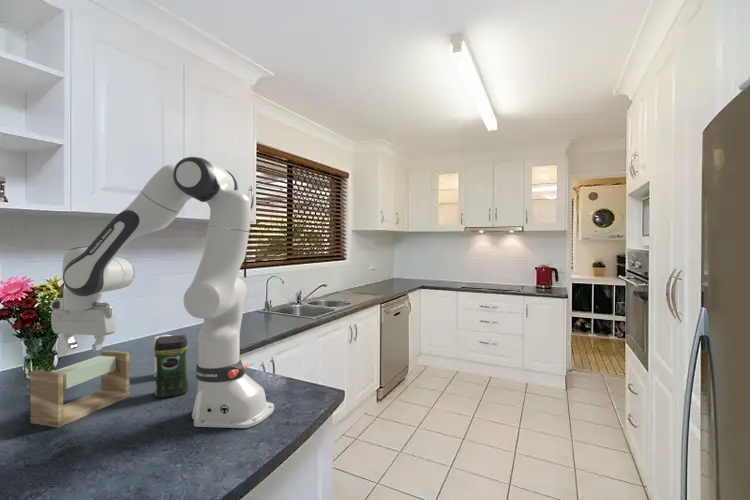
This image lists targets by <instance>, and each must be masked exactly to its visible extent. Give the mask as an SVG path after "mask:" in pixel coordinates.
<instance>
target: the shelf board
mask: <svg viewBox="0 0 750 500" xmlns="http://www.w3.org/2000/svg"><path fill="white" fill-rule="evenodd" d="M115 369H116V360H115V357H113V356H101V355H97V356H94V357H92V358H88V359H86V360H85V359H84V360H82V361H79V362H76V363H73V364H70V365H67V366H65V367H61V368H58V369H55V370H52V371H51V372H58V373H63V389H67V388H68V389H70V388H72V387H75V386H77V385H79V384H82V383H85V382H87V381H90V380H92V379H95V378H97V377H101V375H103V374H105V373H108V372H110V371H113V370H115Z"/></svg>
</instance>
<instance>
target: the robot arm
mask: <svg viewBox="0 0 750 500" xmlns="http://www.w3.org/2000/svg"><path fill="white" fill-rule="evenodd" d="M238 186H239V185H238V182H237V179H236V178H235V176H234V175H233V174H232V173H231V172H229V170H226V169H224V168H223V167H222V166H220V165H219V164H218V163H215V162H212V161H210V160H207V159H205V158H202V157H198V156H197V157H196V156H188V157H185V158H182V159H181V160H179V161H178V162H177V163H176V164H175V165H172V164H171V165H170V164H168V165H164V166H162V167H161V168H159V170H158V171H157V172H156V173H155V174H154V175H153V176H152V177H151V178H150V179H148V181H147V182H146V183H145V185H144V186H143V188H142V189H141V190H140V192H139V194H138V195H137V196H136V197H135V198H134V199H133V201H132V202H130V204H129V205H128V206H127V207H126V208H125V209H123V210H122V211H121V212H119V213H118V214H117V215H116V216H115V217H113V219H112V220H111V221H110V222H109V223H107V225H106V226H105V227H104V229H102V231H100V233H99V234H98V235H97V236H96V238H95V239H94V240H93V241H92V242H91V243H90V245H88V246H78V247H74V248H70V249H68V250H66V251H65V253H64V255H63V259H62V269H61V270H62V281H63V285H64V289H63V291H62V294H63V296H62V297H60V298H59V299H56V300H53V301H51V302H50V304H49V305H50V306H49V307H50V309H51V310H52V311H51V315H50V316H51V318H50V321H51V330H52V332H53V333H54V334H57V335H59V334H60V335H63V338H64V341H65V342H66V343H67V346H66V347H67V349H68V350H73V349H77V348H78V341H76V340H75V335H81V336H82V335H84V336H94V337H93V338H94V340H95V342H94V343H92V344H91V346H92V347H91V350H92V351H95V352H96V351H97V352H98V351H100V350H101V351H102V350H103V343H104V340H105V339H106V336H108V335H113V334H115V332H116V330H117V327H116V326H117V323H116V317H115V312H114V311H113V307H112V306H111V305H110V304H109V303H108V302H103V298H102V294H103V293H105V292H112V291H114V290H115V291H116V290H121V289H124V288H127V287H128V286H130V285H131V284H132V282H133V281H134V277H135V269H134V266H133V265H132V262H131V261H129V260H128V259H126V258H123V257H118V256H117V255H118V254H119V253H120V252H121V250H122V249H123V248H124V247H125V246H126V244H128V243H129V242H131V241H133V240H134V239H135V238H138V237H141V236H144V235H147V234H151V233H154V232H159V231H161V230H164V229H166V228H167V227H168V226H169V225H170V224H172V222H174V220H175V219H176V218H177V216H178V215H179V213H180V212H181V210H183V207H184V206H185V204H186V203H187V202H188V201H189V200H191V199H195V200H197V201H199V202H201V203H206V204H207V205H208V207H209V212H210V214H209V220H208V226H207V233H206V239H205V243H204V244H205V245H204V249H203V254H202V257H201V259H200V263H199V264H198V268H197V269H196V272H195V275H194V278H193V279H192V282H191V284H190V286H188V287H187V288H186V291H185V293H184V295H183V306H184V308H185V310H186V312H187V313H188V314H189V315H190V316H192V317H194V318H196V319H203V322H202V326H201V329H200V331H199V334H198V336H197V364H196V368H195V370H196V371H195V379H197V385H196V395H195V402H194V406H193V411H192V412H191V418H192V420H193V427H197V428H200V427H201V428H225V429H226V428H231V429H247V428H248V429H249V428H251V427H254V426H256V425H258V424H260V423H261V422H263V421H264V420H266V419H268V417H269V416H270V415H272V413H273V412H274V411H275V404H274V403H273V402H269V401H267V398H266V397H267V396H266V393H265V392H266V391H265V390H264V387H262V386H261V385H260V384H258V382H256V381H255V380H254V379H252V377H250V376H248V374H247V373H246V370H245V369H247V368H248V365H249V364H248V363H246V364H244V365H243V362H242V360H241V359H240V350H241V349H240V336H241V335H240V334H241V326H242V320H243V314H244V306H245V301H246V298H247V296H248V286H247V283H246V282H245V281H244V280H243V279H242V278H240V277H239V276H238V275H239V272H240V270H241V268H242V264H243V263H244V262H245V260H246V259H245V258H246V256H247V255H246V254H247V249H248V241H249V235H250V230H251V229H250V227H251V219H252V218H251V217H252V216H251V215H252V209H251V207H252V206H251V204H252V203H251V200H250V198H249V196H248V195H247V194H245V193H244V192H242V191H240V190H238V189H239V188H238Z"/></svg>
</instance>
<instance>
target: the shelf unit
mask: <svg viewBox="0 0 750 500" xmlns="http://www.w3.org/2000/svg"><path fill="white" fill-rule="evenodd" d="M100 356H113V357H115V360H116V369H115V370H113V371H110V372H108V373H105V374H103V375H100V383H101V384H100V390H98V391H95V392H93V393H90V394H88V395H85V396H83V397H80V398H78V399H75V400H72V401H70V402H68V403H65V404H64V392H67V391H68V390H69V388H67V389H63V373H58V372H52V371H47V370H39V369H38V370H37V369H34V370H30V371H29V379H30V380H29V382H30V383H29V387H30V389H29V390H30V393H29V394H30V395H29V396H30V397H29V398H30V405H29V406H30V424H34V425H39V424H40V426H45V425H46V426H45V427H54V428H60V427H64V426H66V425H68V424H70V423H72V422H75V421H77V420H79V419H82V418H83V417H86V416H89V415H91V414H93V413H95V412H98V411H99V410H102V409H104V408H107V407H108V406H111V405H113V404H115V403H118V402H120V401H122V400H124V399H127V398H129V397H130V395H131V394H130V393H131V392H130V391H131V390H130V389H131V388H130V385H131V384H130V380H131V379H130V352H128V351H127V352H126V351H117V350H104V349H103V350H101V351H100ZM65 424H66V425H65Z"/></svg>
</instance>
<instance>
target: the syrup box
mask: <svg viewBox="0 0 750 500" xmlns="http://www.w3.org/2000/svg"><path fill="white" fill-rule="evenodd" d="M165 336H173V335H172V334H171V335H170V334H163V335H158V336H155V337H153V340H154V341H153V345H154V346H153V350H154V349H155V343H156V340H157V338H159V337H165ZM156 372H157V358H156V355H155V353H154V352H153V377H154V378H156Z"/></svg>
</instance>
